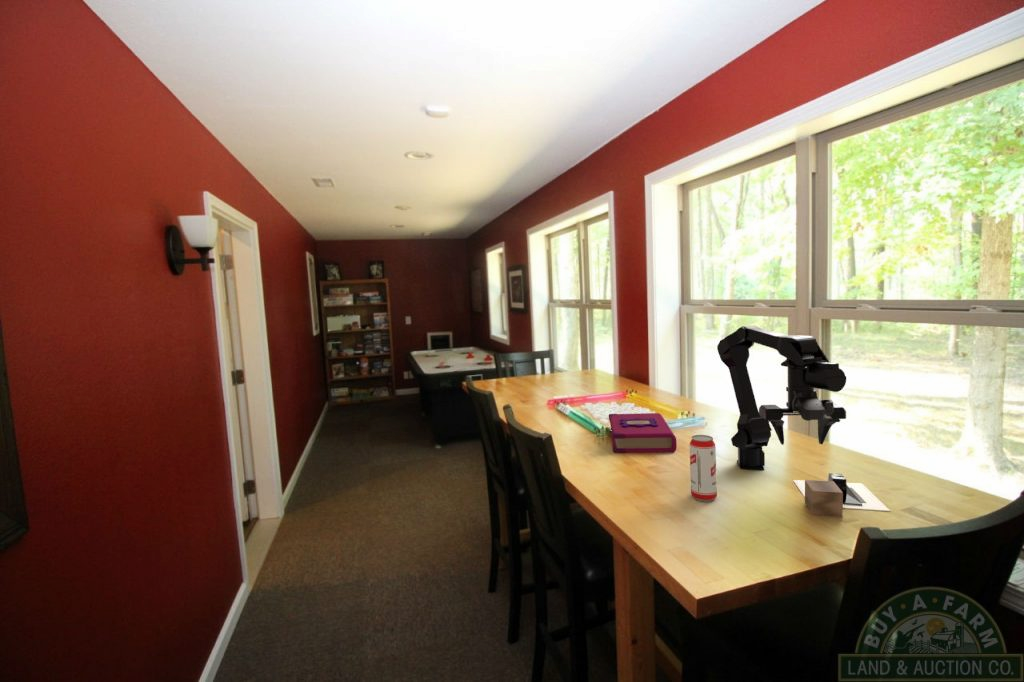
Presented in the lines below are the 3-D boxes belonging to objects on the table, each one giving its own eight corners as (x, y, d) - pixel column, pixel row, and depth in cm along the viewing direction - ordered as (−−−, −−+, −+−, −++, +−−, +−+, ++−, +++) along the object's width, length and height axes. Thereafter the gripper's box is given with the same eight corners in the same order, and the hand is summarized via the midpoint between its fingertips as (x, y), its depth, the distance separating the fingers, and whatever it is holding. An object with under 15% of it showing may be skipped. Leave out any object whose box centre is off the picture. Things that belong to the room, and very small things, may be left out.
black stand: (862, 506, 111) (862, 487, 110) (826, 503, 113) (826, 484, 113) (846, 485, 122) (846, 468, 122) (813, 482, 125) (813, 466, 124)
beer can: (715, 493, 123) (714, 434, 121) (718, 503, 117) (716, 442, 115) (690, 491, 125) (688, 433, 123) (691, 501, 119) (689, 441, 118)
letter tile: (810, 506, 112) (810, 504, 112) (792, 480, 128) (792, 479, 128) (890, 511, 108) (890, 510, 107) (861, 484, 123) (861, 483, 123)
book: (663, 430, 183) (662, 411, 182) (676, 453, 156) (676, 431, 155) (609, 431, 186) (608, 412, 186) (613, 454, 159) (612, 432, 158)
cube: (812, 515, 108) (812, 490, 107) (804, 503, 114) (804, 479, 113) (842, 517, 106) (842, 492, 105) (833, 504, 112) (833, 481, 111)
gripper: (773, 392, 113) (774, 454, 114) (858, 390, 110) (858, 454, 111) (757, 384, 124) (758, 440, 125) (834, 381, 121) (834, 440, 122)
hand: (801, 444), depth 121 cm, fingers open, 9 cm apart
